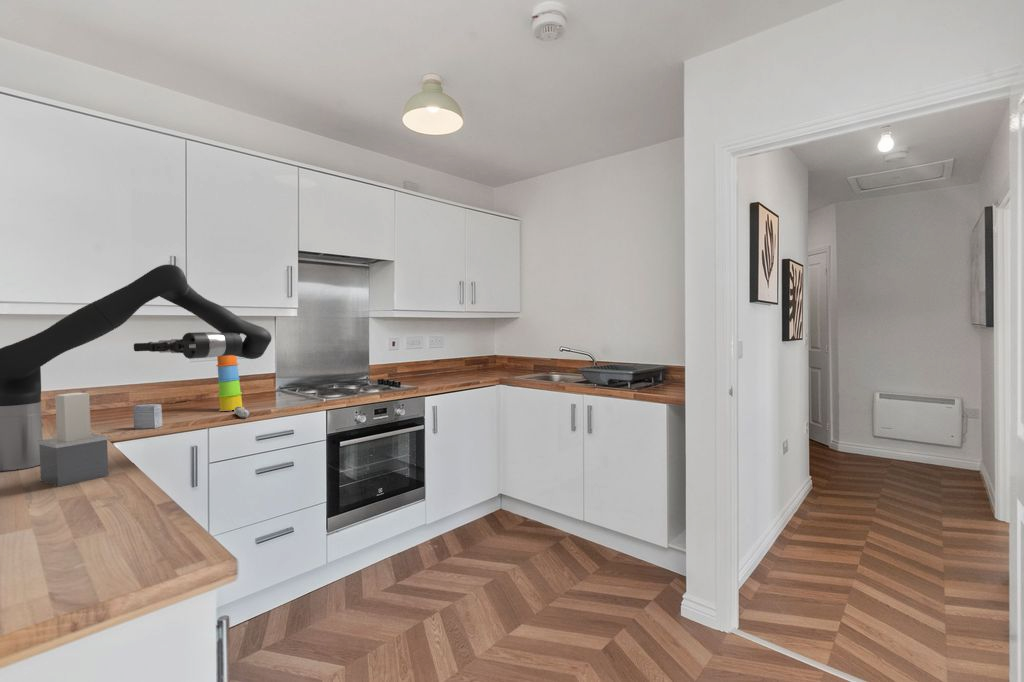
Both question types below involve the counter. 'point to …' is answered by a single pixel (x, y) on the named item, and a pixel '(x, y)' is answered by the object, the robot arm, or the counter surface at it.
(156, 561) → the counter surface
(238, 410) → the grey rock
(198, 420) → the counter surface
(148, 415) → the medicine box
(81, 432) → the cream block
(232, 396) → the stacking cups
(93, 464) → the block
